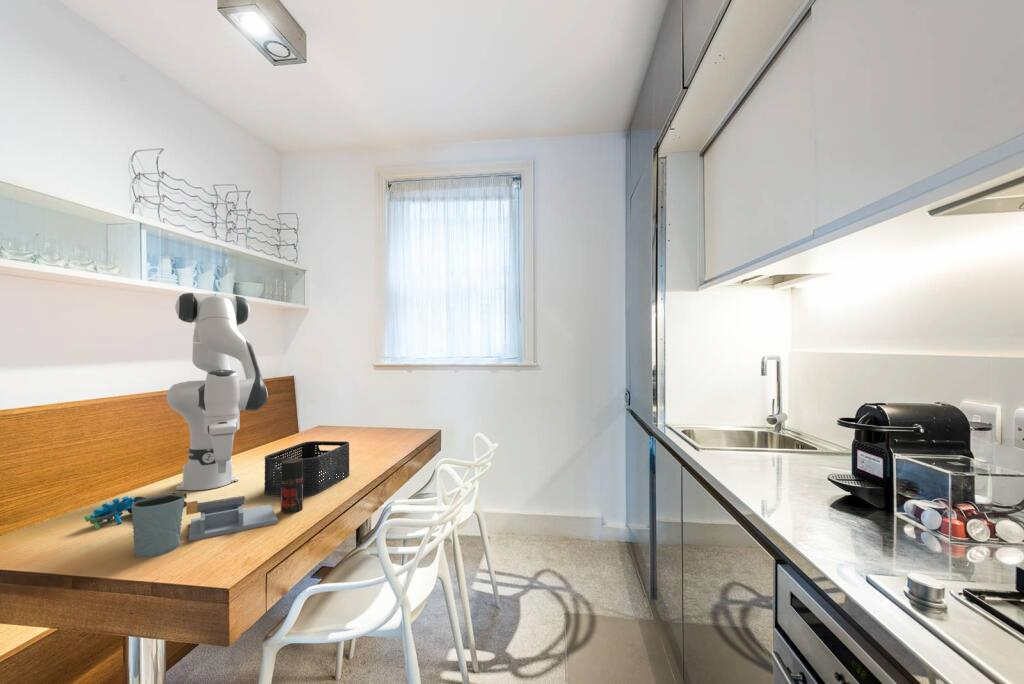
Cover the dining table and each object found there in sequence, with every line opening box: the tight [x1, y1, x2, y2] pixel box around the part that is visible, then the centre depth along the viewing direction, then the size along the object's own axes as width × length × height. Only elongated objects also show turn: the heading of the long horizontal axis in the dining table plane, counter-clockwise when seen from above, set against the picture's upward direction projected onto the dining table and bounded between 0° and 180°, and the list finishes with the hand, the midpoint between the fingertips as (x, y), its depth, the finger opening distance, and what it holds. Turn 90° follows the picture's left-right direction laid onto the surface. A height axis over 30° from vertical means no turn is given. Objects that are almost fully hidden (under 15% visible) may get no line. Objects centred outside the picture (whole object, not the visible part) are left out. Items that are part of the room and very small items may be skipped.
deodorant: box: [280, 459, 304, 515], centre depth 133 cm, size 6×6×15 cm
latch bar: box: [185, 495, 246, 516], centre depth 121 cm, size 3×13×3 cm, turn 125°
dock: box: [188, 504, 278, 542], centre depth 122 cm, size 15×20×5 cm
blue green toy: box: [84, 495, 134, 531], centre depth 123 cm, size 11×6×10 cm
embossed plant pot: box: [131, 493, 186, 559], centre depth 106 cm, size 10×10×12 cm
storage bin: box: [263, 440, 350, 497], centre depth 161 cm, size 29×19×13 cm
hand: (221, 472), depth 127 cm, fingers closed
